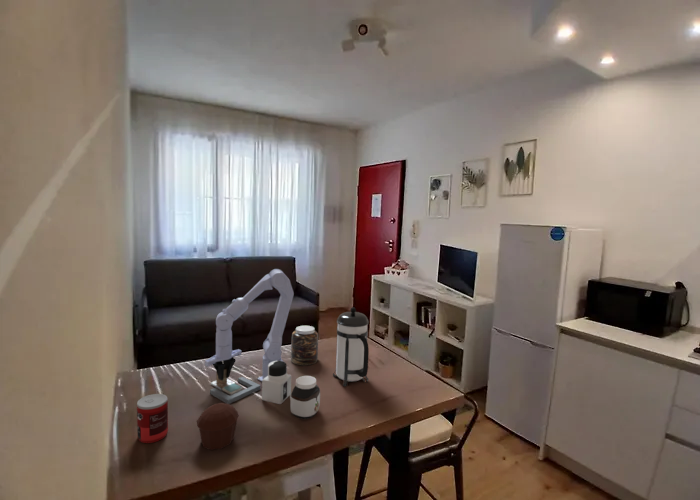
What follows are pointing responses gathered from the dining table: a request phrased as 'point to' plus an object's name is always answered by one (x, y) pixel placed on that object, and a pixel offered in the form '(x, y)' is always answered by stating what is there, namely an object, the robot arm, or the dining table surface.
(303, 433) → the dining table surface
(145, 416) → the canned food
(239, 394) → the tile frame
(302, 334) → the jar
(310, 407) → the spread jar
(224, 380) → the trowel
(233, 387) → the tile
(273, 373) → the container
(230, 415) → the muffin
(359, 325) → the coffee press
